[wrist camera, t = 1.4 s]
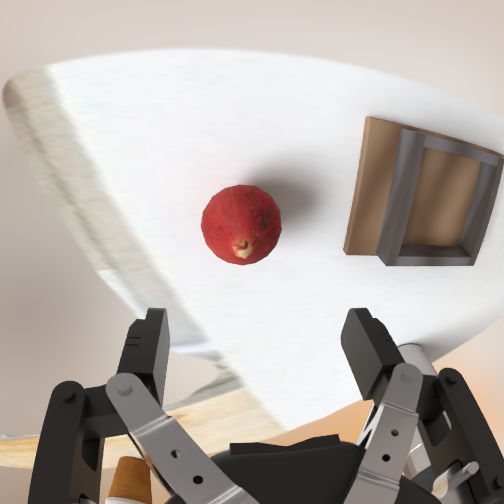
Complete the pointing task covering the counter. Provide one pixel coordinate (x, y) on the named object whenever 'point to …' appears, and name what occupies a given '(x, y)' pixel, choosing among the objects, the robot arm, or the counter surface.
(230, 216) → the onion
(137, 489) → the disposable coffee cup
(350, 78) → the counter surface
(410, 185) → the pocket board
